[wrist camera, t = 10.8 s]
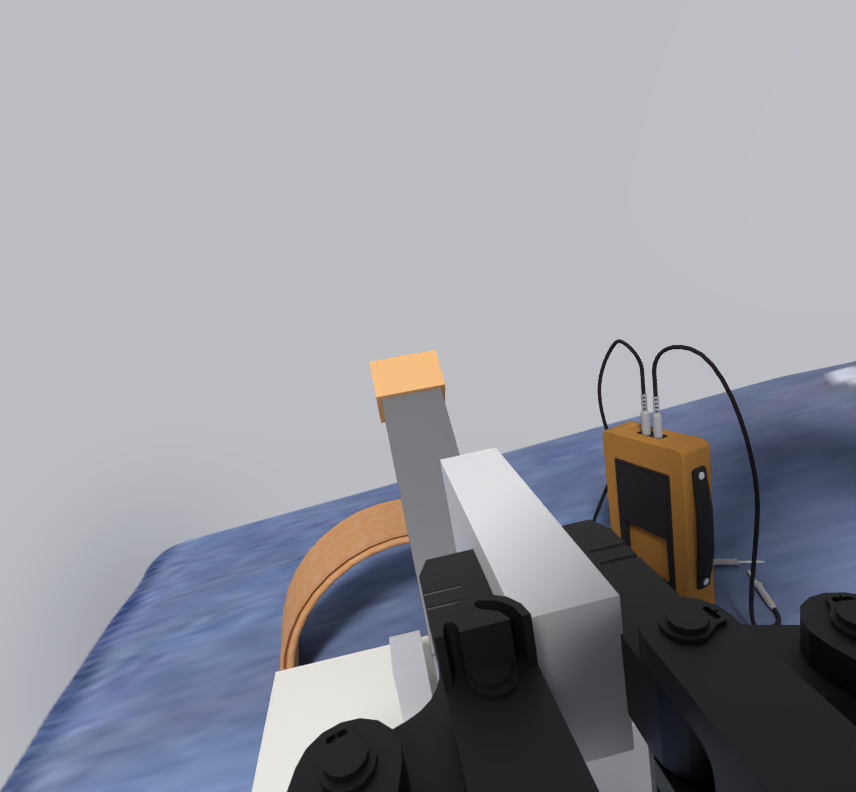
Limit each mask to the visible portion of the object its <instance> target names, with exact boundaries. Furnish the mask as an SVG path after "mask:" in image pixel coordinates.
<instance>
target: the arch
mask: <svg viewBox="0 0 856 792" xmlns="http://www.w3.org/2000/svg"><path fill="white" fill-rule="evenodd" d="M406 543H409V538H408V533H407V528H406V523H405V518H404V512H403V507H402V502H401V499H399V500H394V501H389V502H385V503H380V504H377V505H375V506H372V507H369V508H367V509H364V510H361V511H359V512H357V513H355V514H354V515H352V516H350V517H348V518H347V519H345V520H343V521H341V522H340V523H338V524H337V525H336V526H335V527H333V528H332V529H331V530H330V531H328V532H327V533H326V534H325V535H323V536H322V537H321V538H320V540H319V541H318V542H317V543H316V544H315V545H314V546H313V547H312V548H311V549H310V550H309V552H308V553H307V554H306V556H305V557H304V559H303V561H302V562H301V564H300V565H299V567H298V568H297V570H296V572H295V574H294V576H293V579H292V581H291V583H290V586H289V588H288V591H287V596H286V600H285V604H284V608H283V625H282V641H281V659H280V671H282V670H286V669H290V668H294V667H299V645H298V641H299V637H300V633H301V631H302V629H303V627H304V624H305V622H306V620H307V618H308V615H309V614H310V612H311V611H312V609H313V608H314V606H315V604H316V603H317V601H318V600H319V598H320V597H321V596H322V595H323V594H324V592H325V591H326V590H327V589H328V588H329V587H330V586H331V585H332V584H333V583H334V582H335V580H337V579H338V578H339V577H340V576H342V575H343V574H344V573H345V572H347V571H348V570H349V569H350V568H352V567H353V566H354V565H356V564H358V563H359V562H361V561H363V560H365V559H366V558H368V557H370V556H371V555H373V554H376V553H378V552H381V551H383V550H386V549H388V548H391V547H393V546H398V545H402V544H406Z"/></svg>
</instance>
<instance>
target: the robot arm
mask: <svg viewBox="0 0 856 792" xmlns="http://www.w3.org/2000/svg"><path fill="white" fill-rule="evenodd" d="M440 463H441V469H442V474H443V480H444V485H445V491H446V496H447V502H448V507H449V513H450V518H451V524H452V530H453V535H454V541H455V546H456V552H457V553H453V554H449V555H445V556H441V557H436V558H432V559H428V560H426V561H425V563H424V566H423V568H422V571H421V573H420V575H419V579H420V584H421V589H422V594H423V599H424V604H425V609H426V613H427V618H428V623H429V628H430V633H431V638H432V643H433V647H434V652H435V657H436V661H437V666H438V670H439V681H438V685H437V689H436V691H435V693H434V694H433V696H432V698H431V700H430V701H429V702H428V703H427V704H426V705H425V706H424V708H423V709H422V710H421V711H420V712H418V713H417V714H416V715H414V716H413V717H411V718H410V719H409V720H407V721H405V722H404V723H402V724H400V725H399V726H397V727H395V728H394V729H392V728H390V727H388V726H387V725H385V724H383V723H382V722H380V721H379V720H372V719H364V718H358V719H354V720H349V721H345V722H341V723H339V724H337V725H335V726H333V727H332V728H330V729H328V730H326V731H325V732H323V733H321V734H320V735H319V736H318V737H317V738H316V739H315V740H314V741H313V742H312V743H311V744H310V745H309V746H308V747H307V748H306V750H305V751H304V753H303V755H302V757H301V759H300V760H299V762H298V764H297V766H296V768H295V770H294V773H293V776H292V779H291V781H290V784H289V787H288V790H287V792H599V790H598V788H597V785H596V783H595V781H594V779H593V777H592V775H591V773H590V771H589V769H588V767H587V765H586V763H587V762H591V761H594V760H598V759H601V758H605V757H608V756H612V755H616V754H619V753H623V752H626V751H630V750H633V749H634V740H633V730H632V721H633V723H634V724H635V726H636V727H637V729H638V731H639V732H640V734H641V735H642V737H643V738H644V740H645V742H646V743H647V745H648V750H649V762H650V773H651V784H652V792H856V594H851V593H846V592H844V593H822V594H819V595H816V596H812V597H809V598H808V599H807V600H806V601H805V602H804V603H803V604H802V605H801V606H800V625H745V624H741V623H740V622H738V621H737V620H736V619H735V618H734V617H733V616H732V615H730V614H729V613H727V612H726V611H724V610H723V609H721V608H720V607H718V606H717V605H715V604H712V603H709V602H706V601H703V600H701V599H698V598H690V597H682V596H680V595H679V594H678V593H677V592H676V591H675V590H673V589H672V588H671V587H670V586H669V585H668V584H667V583H666V582H665V581H664V580H663V579H662V578H661V577H660V576H659V575H658V574H657V573H656V572H655V571H654V570H653V569H652V568H651V567H650V566H649V565H648V564H647V563H646V562H645V561H644V560H643V559H642V558H641V557H638V556H637V554H636V553H635V552H634V551H633V550H632V549H631V548H630V547H629V546H628V545H626V544H625V542H624V541H623V540H622V539H621V538H620V537H619V536H618V535H617V534H616V533H615V532H614V531H613V530H612V529H610V528H608V527H606V526H603V525H601V524H599V523H597V522H594V521H592V520H585V521H581V522H577V523H573V524H568V525H564V526H561V525H560V524H559V523H558V522H557V520H556V519H555V518H554V517H553V516H552V514H551V513H550V512H549V511H548V510H547V508H546V507H545V506H544V505H543V504H542V503H541V501H540V500H539V499H538V498H537V497H536V495H535V494H534V493H533V492H532V491H531V489H530V488H529V487H528V486H527V485H526V483H525V482H524V481H523V480H522V479H521V478H520V476H519V475H518V474H517V473H516V472H515V470H514V469H513V468H512V467H511V466H510V464H509V463H508V462H507V461H506V460H505V458H504V457H503V456H502V455H501V454H500V453H499V452H498V450H497V449H496V448H491V449H487V450H483V451H478V452H473V453H469V454H464V455H459V456H455V457H450V458H445V459H441V460H440ZM631 719H632V720H631Z"/></svg>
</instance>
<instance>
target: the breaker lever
mask: <svg viewBox="0 0 856 792" xmlns="http://www.w3.org/2000/svg"><path fill="white" fill-rule="evenodd" d="M370 367H371V372H372V377H373V383H374V388H375V393H376V398H377V404H378V409H379V414H380V419H381V423H383V422H386V427H387V432H388V437H389V442H390V447H391V452H392V457H393V462H394V467H395V472H396V477H397V482H398V487H399V492H400V497H401V502H402V507H403V512H404V518H405V523H406V528H407V533H408V538H409V543H410V548H411V553H412V558H413V563H414V568H415V573H416V578H417V583H418V588H419V593H420V598H421V603H422V608H423V613H424V618H425V623H426V628H427V633H428V638H429V643H430V648H431V653H432V658H433V663H434V668H435V673H436V678H437V683H438V681H439V670H438V666H437V661H436V657H435V652H434V647H433V643H432V638H431V633H430V628H429V623H428V618H427V613H426V609H425V604H424V599H423V594H422V589H421V584H420V579H419V575H420V573H421V571H422V568H423V566H424V563H425V561H426V560H428V559H432V558H436V557H441V556H445V555H449V554H453V553H457V552H456V546H455V541H454V535H453V530H452V524H451V518H450V513H449V507H448V502H447V496H446V491H445V485H444V480H443V474H442V469H441V463H440V460H441V459H445V458H450V457H455V456H459V451H458V448H457V444H456V440H455V437H454V434H453V430H452V426H451V423H450V419H449V416H448V412H447V409H446V405H445V382H444V379H443V375H442V372H441V368H440V365H439V361H438V358H437V354H436V351H435V350H431V351H426V352H420V353H415V354H410V355H404V356H399V357H393V358H388V359H382V360H377V361H371V362H370Z"/></svg>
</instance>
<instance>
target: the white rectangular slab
mask: <svg viewBox="0 0 856 792" xmlns="http://www.w3.org/2000/svg"><path fill="white" fill-rule="evenodd" d="M389 641H390V645H386V646H382V647H378V648H374V649H370V650H365V651H361V652H357V653H353V654H349V655H345V656H340V657H336V658H332V659H328V660H324V661H319V662H315V663H311V664H307V665H303V666H299V667H294V668H290V669H286V670H282V671H278V672H276V673H275V678H274V683H273V688H272V693H271V698H270V703H269V708H268V713H267V718H266V723H265V728H264V733H263V738H262V743H261V748H260V753H259V758H258V763H257V768H256V773H255V778H254V783H253V788H252V792H287V790H288V787H289V784H290V781H291V779H292V776H293V773H294V770H295V768H296V766H297V764H298V762H299V760H300V759H301V757H302V755H303V753H304V751H305V750H306V748H307V747H308V746H309V745H310V744H311V743H312V742H313V741H314V740H315V739H316V738H317V737H318V736H319V735H320V734H321V733H323V732H325V731H326V730H328V729H330V728H332V727H333V726H335V725H337V724H339V723H341V722H345V721H349V720H354V719H358V718H364V719H372V720H379V721H380V722H382V723H383V724H385V725H387V726H388V727H390V728H392V729H394V728H395V727H397V726H399V725H400V724H402V723H404V722H405V721H407V720H409V719H410V718H411V717H413V716H414V715H416V714H417V713H418V712H420V711H421V710H422V709H423V708H424V706H425V705H426V704H427V703H428V702H429V701H430V700H431V698H432V696H433V694H434V693H435V691H436V689H437V685H438V683H437V678H436V673H435V668H434V663H433V658H432V653H431V648H430V643H429V638H428V636H424V637H421V636H420V631H419V630H418V631H414V632H409V633H405V634H401V635H397V636H393V637H389ZM631 720H632V719H631ZM632 730H633V740H634V749H633V750H630V751H626V752H623V753H619V754H616V755H612V756H608V757H605V758H601V759H598V760H594V761H591V762H587V763H586V765H587V767H588V769H589V771H590V773H591V775H592V777H593V779H594V781H595V783H596V785H597V788H598V790H599V792H652V784H651V773H650V762H649V750H648V745H647V743H646V742H645V740H644V738H643V737H642V735H641V734H640V732H639V731H638V729H637V727H636V726H635V724H634V723H633V721H632Z"/></svg>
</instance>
